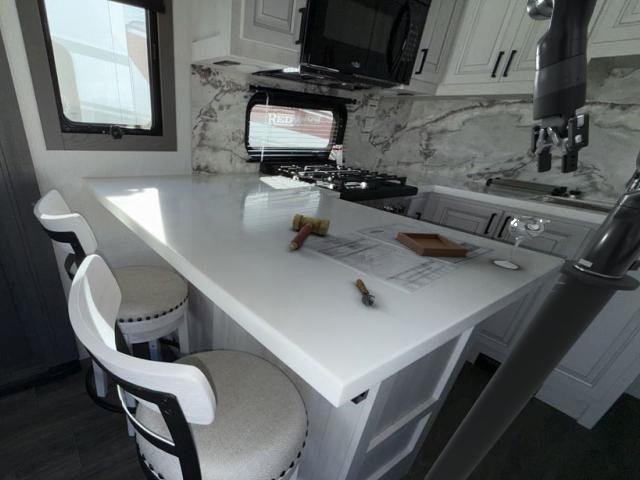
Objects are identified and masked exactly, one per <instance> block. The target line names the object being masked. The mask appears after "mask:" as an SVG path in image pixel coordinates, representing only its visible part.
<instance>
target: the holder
mask: <svg viewBox="0 0 640 480" xmlns="http://www.w3.org/2000/svg"><path fill="white" fill-rule="evenodd" d="M396 240H397V241H399V242H400V243H402V244H404V245H405V246H406V247H407V248H409V249H411V250H412V251H414V252H415V253H416V254H418V255H420V256H424V257H425V256H426V257H428V256H429V257H432V256H433V257H462V258H463V257H466V256H467V255H468V252H469V248H467V247H465V246H463V245H461V244H459V243H457V242H455V241H453V240H452V239H449V238H448V237H446V236H444V235H442V234H440V233H437V232H436V233H435V232H433V233H432V232H408V231H407V232H404V231H403V232H402V231H399V232H398V233H397V236H396Z"/></svg>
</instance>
